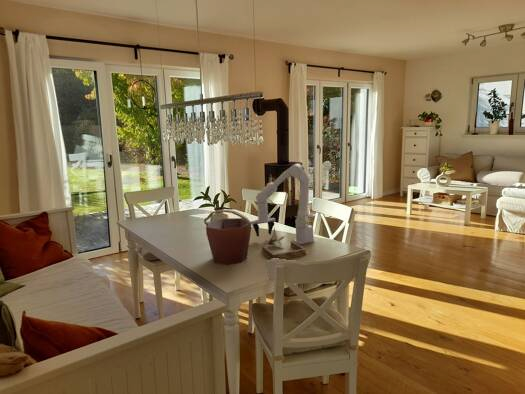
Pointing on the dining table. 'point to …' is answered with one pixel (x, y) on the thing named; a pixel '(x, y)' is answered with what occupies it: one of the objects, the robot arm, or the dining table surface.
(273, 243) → the origami crane
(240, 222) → the bucket
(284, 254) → the walnut u-shaped block
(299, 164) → the robot arm
